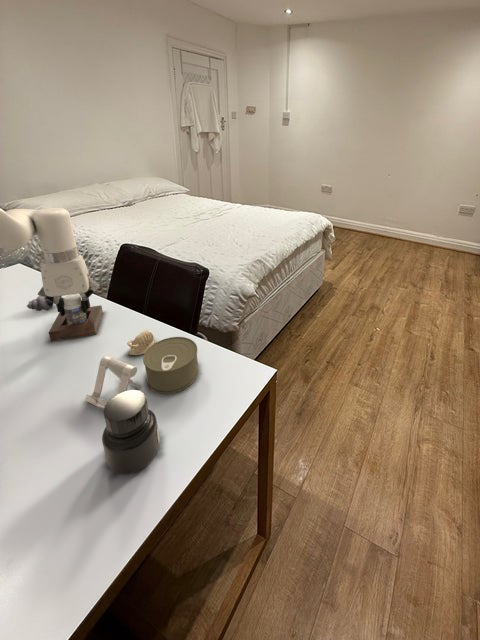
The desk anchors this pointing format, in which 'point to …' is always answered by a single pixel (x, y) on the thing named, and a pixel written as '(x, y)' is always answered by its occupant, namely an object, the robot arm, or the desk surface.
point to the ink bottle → (129, 432)
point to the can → (171, 365)
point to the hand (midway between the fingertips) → (75, 311)
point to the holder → (76, 325)
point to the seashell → (40, 304)
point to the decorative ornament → (141, 343)
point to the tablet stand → (119, 369)
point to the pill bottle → (74, 309)
